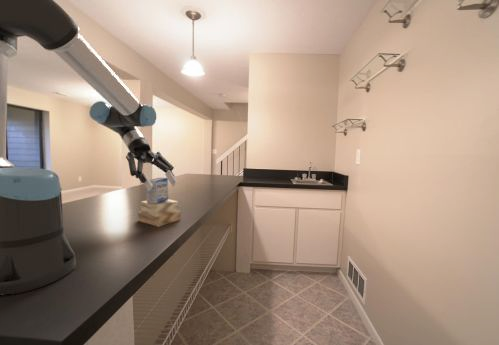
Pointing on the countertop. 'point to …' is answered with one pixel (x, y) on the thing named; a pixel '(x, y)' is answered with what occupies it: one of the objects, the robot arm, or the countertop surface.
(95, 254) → the countertop surface
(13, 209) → the robot arm
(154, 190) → the medicine box
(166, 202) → the tower top slab
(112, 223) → the countertop surface
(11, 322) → the countertop surface
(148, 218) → the tower bottom slab
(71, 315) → the countertop surface
